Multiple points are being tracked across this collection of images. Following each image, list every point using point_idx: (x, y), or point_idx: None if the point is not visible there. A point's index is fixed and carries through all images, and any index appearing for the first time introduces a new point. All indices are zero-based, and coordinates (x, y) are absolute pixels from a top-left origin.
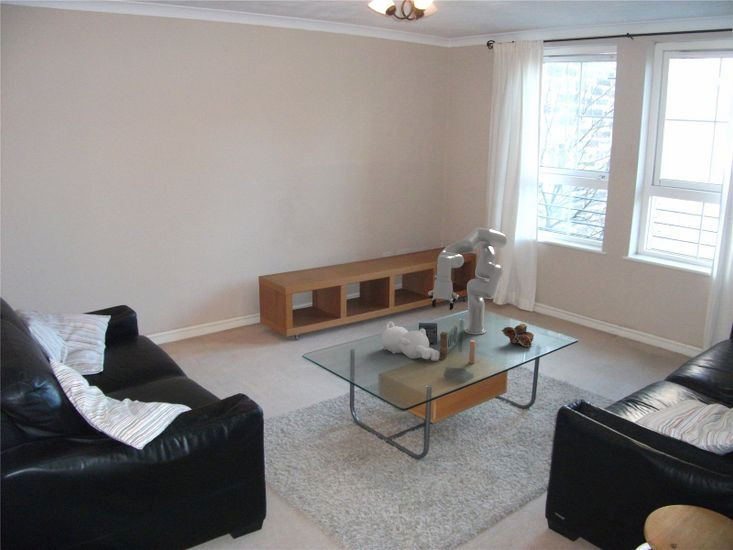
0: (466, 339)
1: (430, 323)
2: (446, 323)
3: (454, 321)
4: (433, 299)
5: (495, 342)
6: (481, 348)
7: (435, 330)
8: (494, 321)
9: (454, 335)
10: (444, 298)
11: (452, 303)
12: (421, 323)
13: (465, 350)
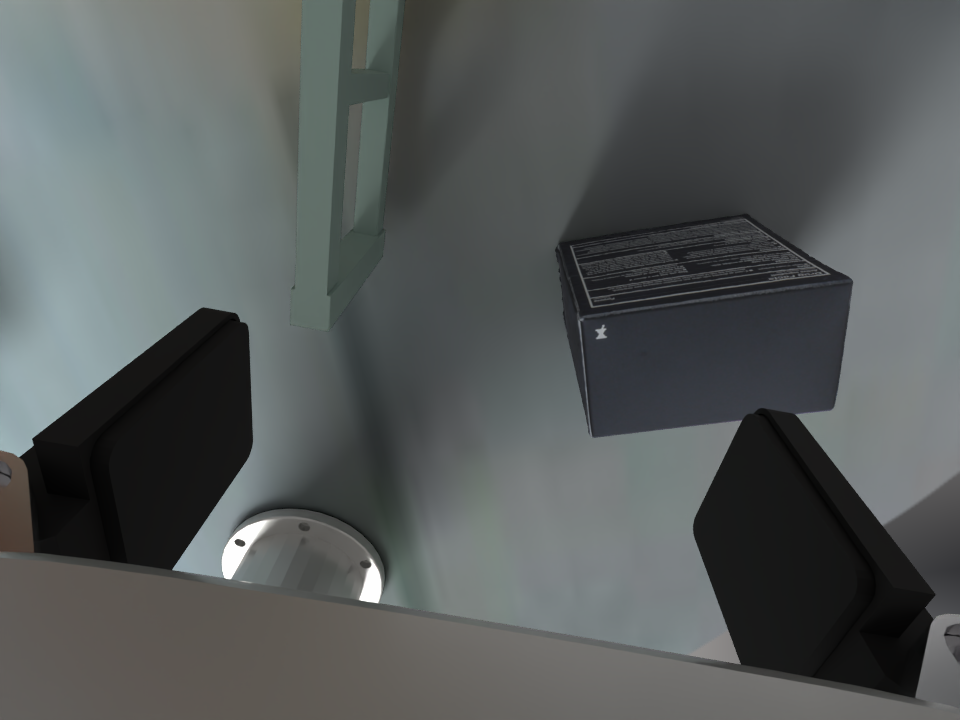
0: (322, 411)
1: (677, 409)
2: None
3: None
4: (955, 670)
5: None
6: (130, 235)
7: (594, 292)
8: None
9: (352, 254)
10: (220, 643)
11: (9, 475)
12: (803, 386)
13: (248, 139)
